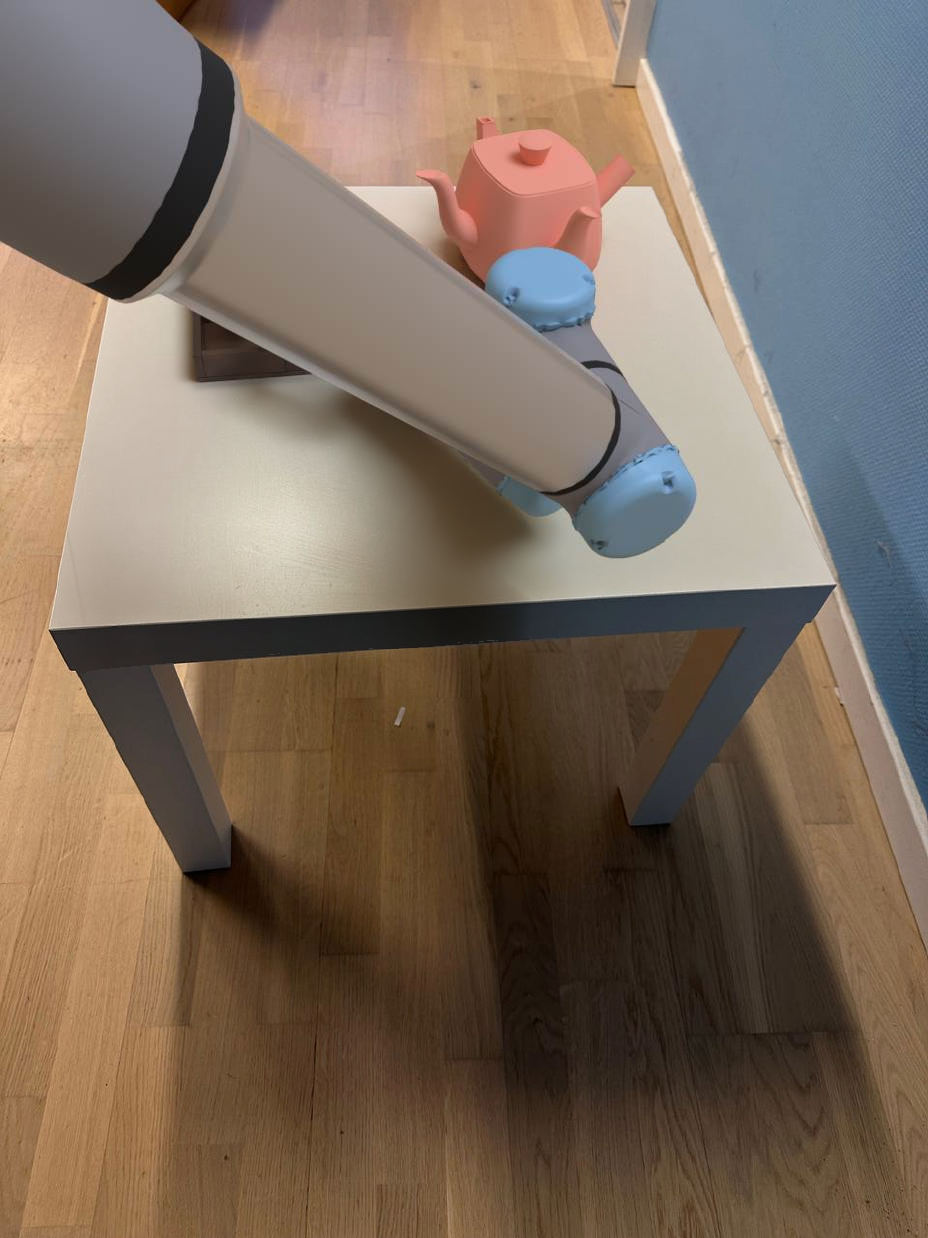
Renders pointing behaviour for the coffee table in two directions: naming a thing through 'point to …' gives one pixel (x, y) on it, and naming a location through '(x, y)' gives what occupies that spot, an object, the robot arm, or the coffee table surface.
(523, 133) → the teapot
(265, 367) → the wooden compartment tray
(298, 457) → the coffee table surface
